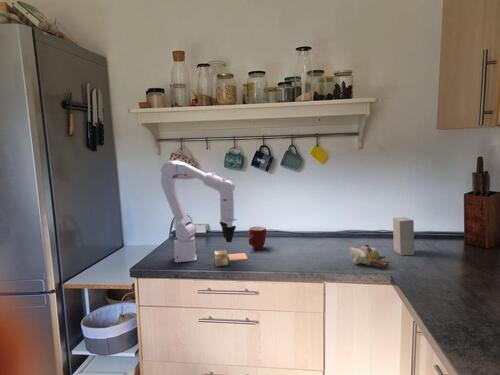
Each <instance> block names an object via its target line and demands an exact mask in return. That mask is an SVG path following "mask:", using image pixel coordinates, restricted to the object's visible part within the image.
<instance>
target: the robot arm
mask: <svg viewBox="0 0 500 375" xmlns="http://www.w3.org/2000/svg"><path fill="white" fill-rule="evenodd" d="M160 172H161V176H160V185H161V187H162V190H163V192H164V194H165V198H166V200H167V202H168V205H169V208H170V210H171V213H172V215H173V219H174V220H175V224H174V228H175V236H176V238H177V239H174V240H173V251H174V252H173V257H174V263H181V262H182V263H183V262H193V261H194V262H195V261H197V260H198V259H197V253H196V238H195V234H196V233H197V226H196V225H195V224H194V223H193V220H192V219H191V218H190V217H189V216H188V215H187V213H186V210H185V207H184V205H183V203H182V200H181V197H180V195H179V192H178V189H177V187H176V181H177V179H178V177H179V176H180V175H184V174H185V175H186V174H187V175H189V176H190V177H193V178H196V179H198V180H201V181H202V183H203V185H205V186H206V187H209V188H211V189H213V190H215V191H217V192H218V194H219V203H220V204H219V206H220V209H219V210H220V213H219V214H220V219H219V224H220V226H221V230H222V234H223V238H224V239H225V241H226V243H232V242H233V236H234V232H235V230H236V228H237V226H236V225H233V223H234V222H235V221H237V218H236V217H235V212H234V211H235V210H234V209H235V205H234V200H235V199H234V191H235V183H234V182H233V181H232V180H231V179H226V178H225V177H221V176H220V175H219V176H218V175H216V172H207V173H205V172H204V171H202V170H199V169H197V168H196V167H195V166H192V165H190V164H188V163H186V162H185V161H184V162H183V161H181V160H178V159H177V160H176V159H175V160H171V161H169V160H167V161H165V162H164V163H163V164H162V166H161V168H160Z"/></svg>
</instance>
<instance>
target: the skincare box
mask: <svg viewBox="0 0 500 375" xmlns="http://www.w3.org/2000/svg"><path fill="white" fill-rule="evenodd" d="M414 224H415V223H414V219H411V218H410V217H406V216H404V217H403V216H402V217H392V233H393V251H394V252H396V253H397V254H398V255H400V256H407V255H408V256H414V255H415V232H414V230H415V228H414V226H415V225H414Z"/></svg>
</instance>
